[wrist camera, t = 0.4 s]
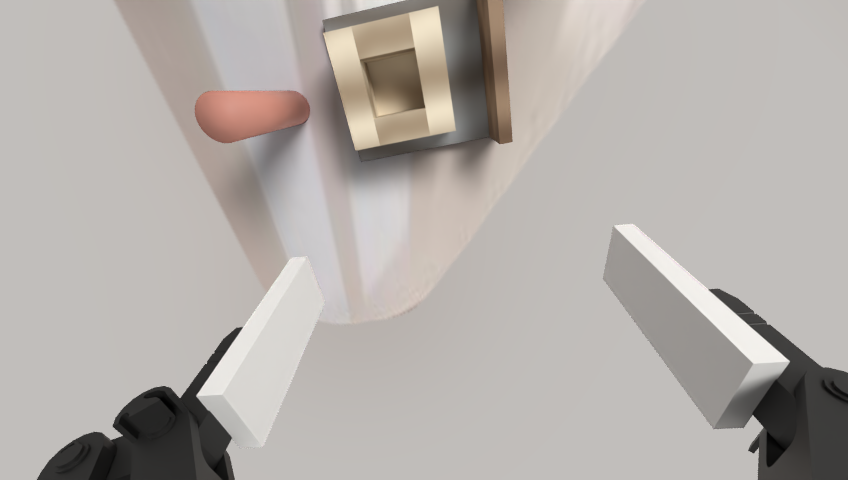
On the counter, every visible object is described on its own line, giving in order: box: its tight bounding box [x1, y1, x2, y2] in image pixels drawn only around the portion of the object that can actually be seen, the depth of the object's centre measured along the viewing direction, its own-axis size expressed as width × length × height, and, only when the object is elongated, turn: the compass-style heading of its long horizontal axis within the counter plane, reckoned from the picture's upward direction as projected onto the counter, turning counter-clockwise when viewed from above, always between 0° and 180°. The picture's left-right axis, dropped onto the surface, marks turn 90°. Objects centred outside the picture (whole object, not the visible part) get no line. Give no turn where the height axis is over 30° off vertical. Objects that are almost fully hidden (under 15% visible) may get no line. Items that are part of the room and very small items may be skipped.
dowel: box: [195, 91, 310, 143], centre depth 29 cm, size 4×4×14 cm
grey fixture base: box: [322, 0, 512, 162], centre depth 31 cm, size 14×16×6 cm
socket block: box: [323, 6, 456, 150], centre depth 31 cm, size 10×10×5 cm
